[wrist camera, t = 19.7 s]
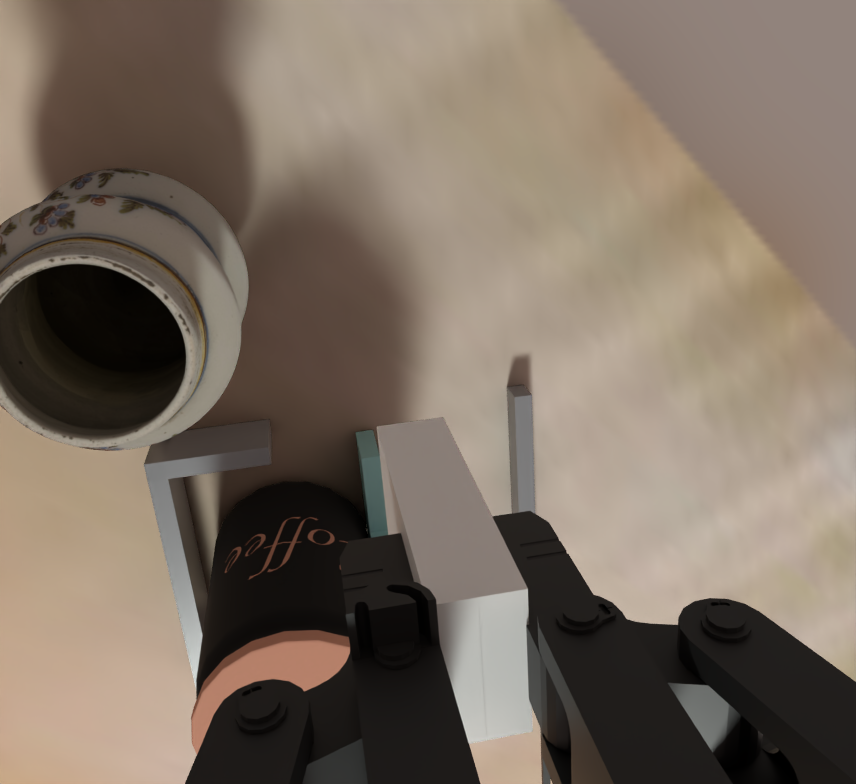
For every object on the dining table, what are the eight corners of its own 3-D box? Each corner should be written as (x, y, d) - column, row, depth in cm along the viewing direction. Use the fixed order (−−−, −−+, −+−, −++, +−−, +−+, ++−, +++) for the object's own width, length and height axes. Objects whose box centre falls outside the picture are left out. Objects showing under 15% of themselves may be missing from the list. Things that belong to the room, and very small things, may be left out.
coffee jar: (381, 484, 57) (423, 649, 40) (350, 609, 60) (377, 809, 43) (229, 463, 54) (207, 629, 37) (205, 595, 57) (175, 801, 41)
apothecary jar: (167, 392, 52) (113, 537, 35) (1, 267, 47) (-150, 366, 31) (292, 257, 50) (298, 342, 33) (132, 114, 45) (47, 131, 29)
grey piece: (154, 434, 52) (143, 464, 48) (523, 384, 56) (542, 408, 52) (206, 668, 60) (201, 712, 55) (530, 612, 63) (548, 649, 59)
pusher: (355, 432, 54) (380, 547, 41) (378, 428, 55) (411, 542, 41) (378, 622, 60) (406, 778, 47) (399, 619, 61) (433, 773, 47)
